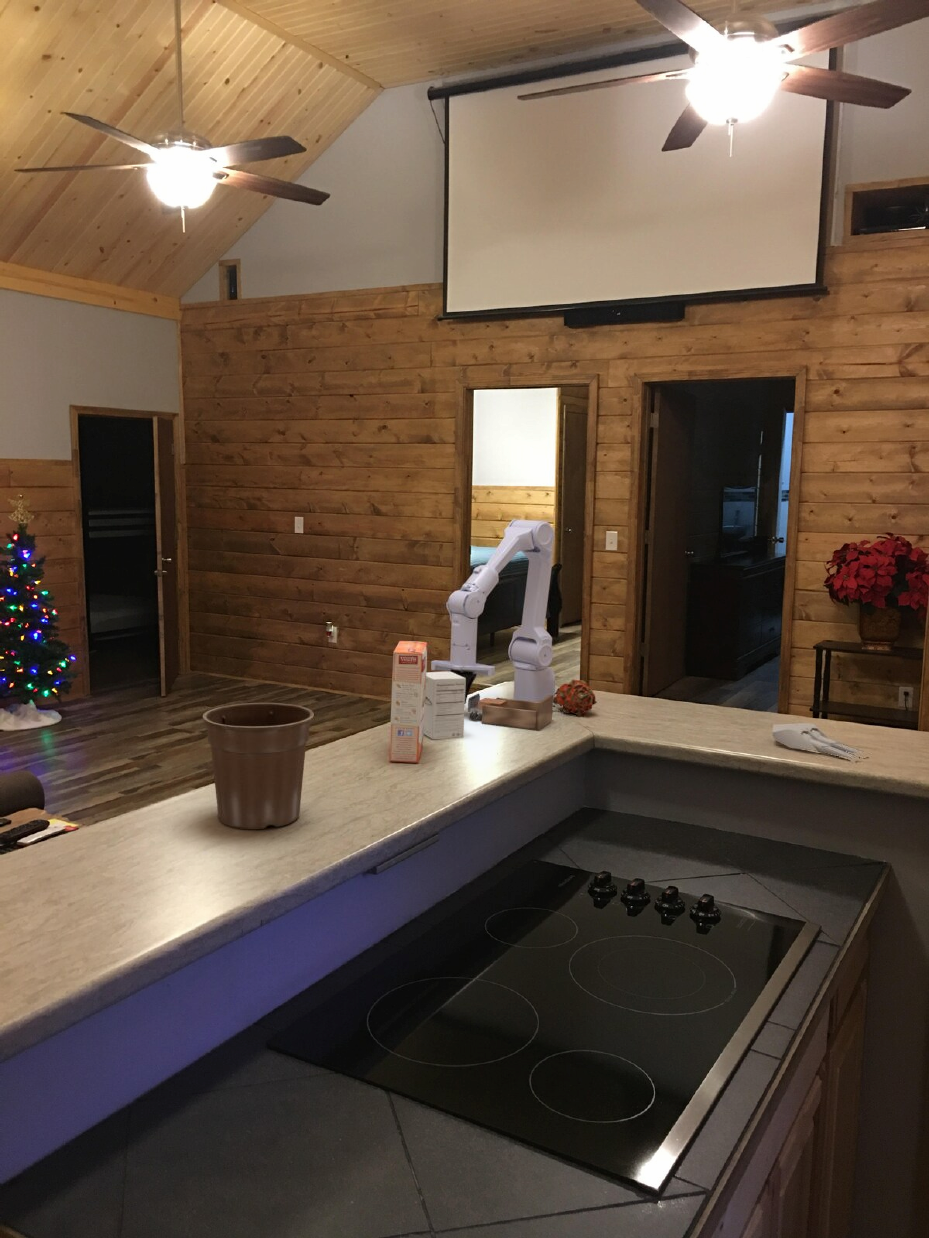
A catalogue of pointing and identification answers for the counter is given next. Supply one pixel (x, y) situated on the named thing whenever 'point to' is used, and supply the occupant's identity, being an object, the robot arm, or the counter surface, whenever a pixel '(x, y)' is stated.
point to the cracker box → (408, 701)
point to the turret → (811, 739)
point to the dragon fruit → (575, 697)
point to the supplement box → (444, 705)
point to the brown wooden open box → (520, 714)
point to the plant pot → (258, 762)
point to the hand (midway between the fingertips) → (461, 704)
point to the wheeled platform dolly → (477, 704)
